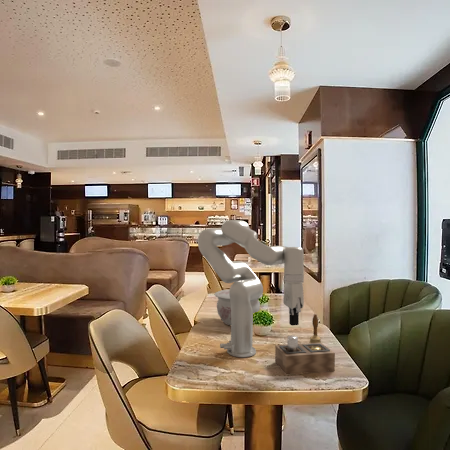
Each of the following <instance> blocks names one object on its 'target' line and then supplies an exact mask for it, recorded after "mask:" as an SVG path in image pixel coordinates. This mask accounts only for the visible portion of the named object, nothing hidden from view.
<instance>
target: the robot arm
mask: <svg viewBox="0 0 450 450" xmlns="http://www.w3.org/2000/svg"><path fill="white" fill-rule="evenodd" d="M249 225H250V224H248V223H247V222H246V221H244V220H243V219H242V220H241V219H239V220H238V219H237V220H236V219H229V220H226V221H225V222H224V223H222V225H221V226H220V227H221V228H220V227H218V228H214V227H211V228H205V229H204V230H201V232H200V233H199V235H198V237H197V246H198V250H199V252H200V254H201V255H202V256H203V257H204V258H205V260H206V261H207V262H208V263H209V264H210V266H211V267H212V269H213V271H214V272H215V273H216V274H217V276H218V278H220V280H221V281H222V282H224V283H225V284H231V286H230V287H229V289H230V290H229V296H230V302H231V326H230V340H229V341H228V342H226V343H220V344H219V348H220V349H224V350H227V351H226V352H227V354H229V355H230V356H232V357H235V358H249V357H252V356H255V355H256V353H257V349H256V348H255V347H254V346H253V334H254V333H253V332H254V331H253V327H254V326H253V324H254V322H253V311H252V307H251V304H250V301H251V300H254V299H257V298H258V299H260V298H259V297H260V296H261V295H263V293H264V287H263V283H262V282H261V279H259V277H258V276H257V275H256V273H254V271H253V270H252V268H250V267H249V265H248V264H247V263H245V262H244V261H240V260H237V261H234V260H233V261H232V260H231V259H230V258H229V257H228V256H227V254H226V252H225V251H223V250H221V249H220V248H219V247H221V246H222V247H223V246H228V245H231V244H233V243H235V244H237V245H239V246H240V247H241V248H244V249H245V251H246V252H247V254H248V256H250V257H251V258H253V260H255V261H257V262H259V263H260V264H262V265H265V266H274V265H275V266H276V265H282V264H283V265H284V266H283V267H284V268H283V271H284V273H283V274H284V276H283V280H284V281H283V282H284V285H283V299H282V301H283V305H285V306H286V307H288V313H289V315H288V317H289V320H288V321H289V325H290V326H298V325H299V324H300V322H299V320H300V319H299V316H300V313H301V312H302V310H301V309H303V308H304V302H305V301H304V299H305V297H304V287H303V284H304V281H305V279H304V273H305V271H304V268H305V267H304V266H305V265H304V262H305V261H304V249H303V247H300V246H284V245H273V246H272V245H271V246H269V245H266V243H265V244H264V243H263V242H261V241H260V240H258V233H257V232H256V231H255V230H253V229H251V228H250V226H249Z"/></svg>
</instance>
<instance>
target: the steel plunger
mask: <svg viewBox="0 0 450 450" xmlns="http://www.w3.org/2000/svg"><path fill="white" fill-rule="evenodd" d="M298 344H299V338H298V336H297V335H293V334H292V335H288V336H287V344H286V345H287V351H288V352H298Z"/></svg>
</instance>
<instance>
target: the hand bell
mask: <svg viewBox="0 0 450 450" xmlns="http://www.w3.org/2000/svg"><path fill="white" fill-rule="evenodd" d="M311 322H312V327H313V335H312V336H311V337H310V339H309V343H322V342H321V341H322V340H321V337H319V336H318V327H319V326H318V325H319V318H318V314H317V313H316V314H313V316H312V321H311Z"/></svg>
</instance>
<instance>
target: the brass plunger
mask: <svg viewBox="0 0 450 450" xmlns="http://www.w3.org/2000/svg"><path fill="white" fill-rule="evenodd" d="M311 350H313V351H314V350H321V348H320V347H317V346H312V347H311Z"/></svg>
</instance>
